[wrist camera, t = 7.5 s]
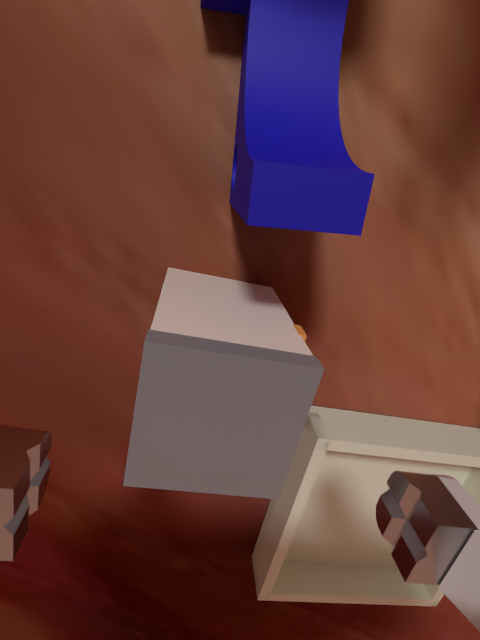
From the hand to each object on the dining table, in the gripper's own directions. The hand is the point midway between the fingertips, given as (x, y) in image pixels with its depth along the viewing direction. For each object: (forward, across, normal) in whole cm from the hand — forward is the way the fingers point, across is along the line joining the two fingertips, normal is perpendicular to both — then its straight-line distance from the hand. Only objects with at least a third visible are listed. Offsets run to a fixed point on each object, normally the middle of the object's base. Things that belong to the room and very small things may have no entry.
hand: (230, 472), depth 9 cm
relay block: (+9, 0, 0) cm, 9 cm away
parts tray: (+9, -11, +9) cm, 16 cm away
